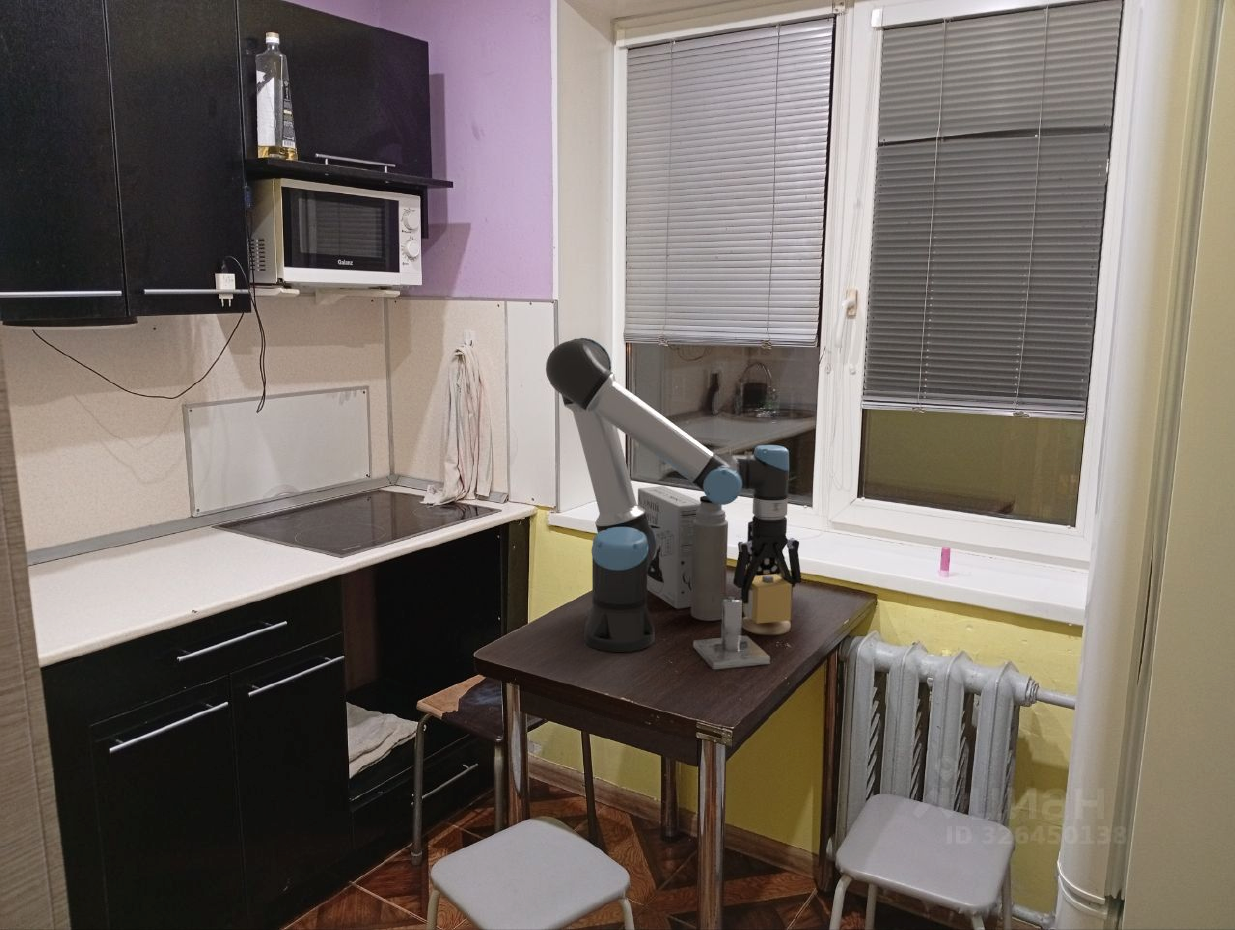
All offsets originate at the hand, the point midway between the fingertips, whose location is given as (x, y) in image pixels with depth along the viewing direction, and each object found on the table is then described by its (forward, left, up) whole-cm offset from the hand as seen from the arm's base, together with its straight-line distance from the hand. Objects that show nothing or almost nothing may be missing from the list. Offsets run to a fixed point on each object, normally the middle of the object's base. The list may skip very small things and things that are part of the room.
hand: (766, 614), depth 206 cm
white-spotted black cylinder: (+5, +13, -3) cm, 14 cm away
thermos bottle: (-10, +10, -3) cm, 14 cm away
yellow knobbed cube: (0, 0, 0) cm, 0 cm away
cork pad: (0, 0, -3) cm, 3 cm away
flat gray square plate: (-14, -14, -3) cm, 20 cm away
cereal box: (-14, +27, -3) cm, 30 cm away
